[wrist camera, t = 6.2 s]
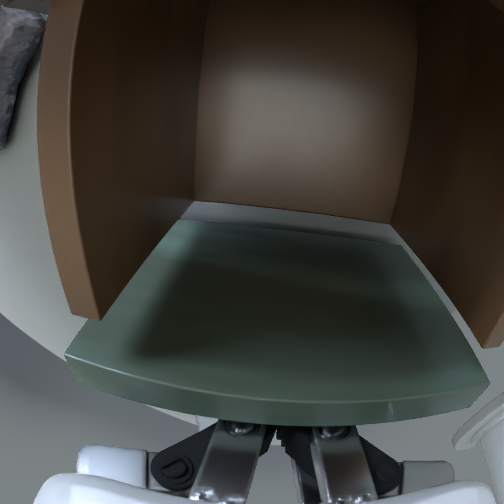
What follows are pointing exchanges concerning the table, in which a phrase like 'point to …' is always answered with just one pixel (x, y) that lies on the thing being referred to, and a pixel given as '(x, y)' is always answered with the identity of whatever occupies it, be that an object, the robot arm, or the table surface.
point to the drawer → (276, 201)
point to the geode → (15, 57)
